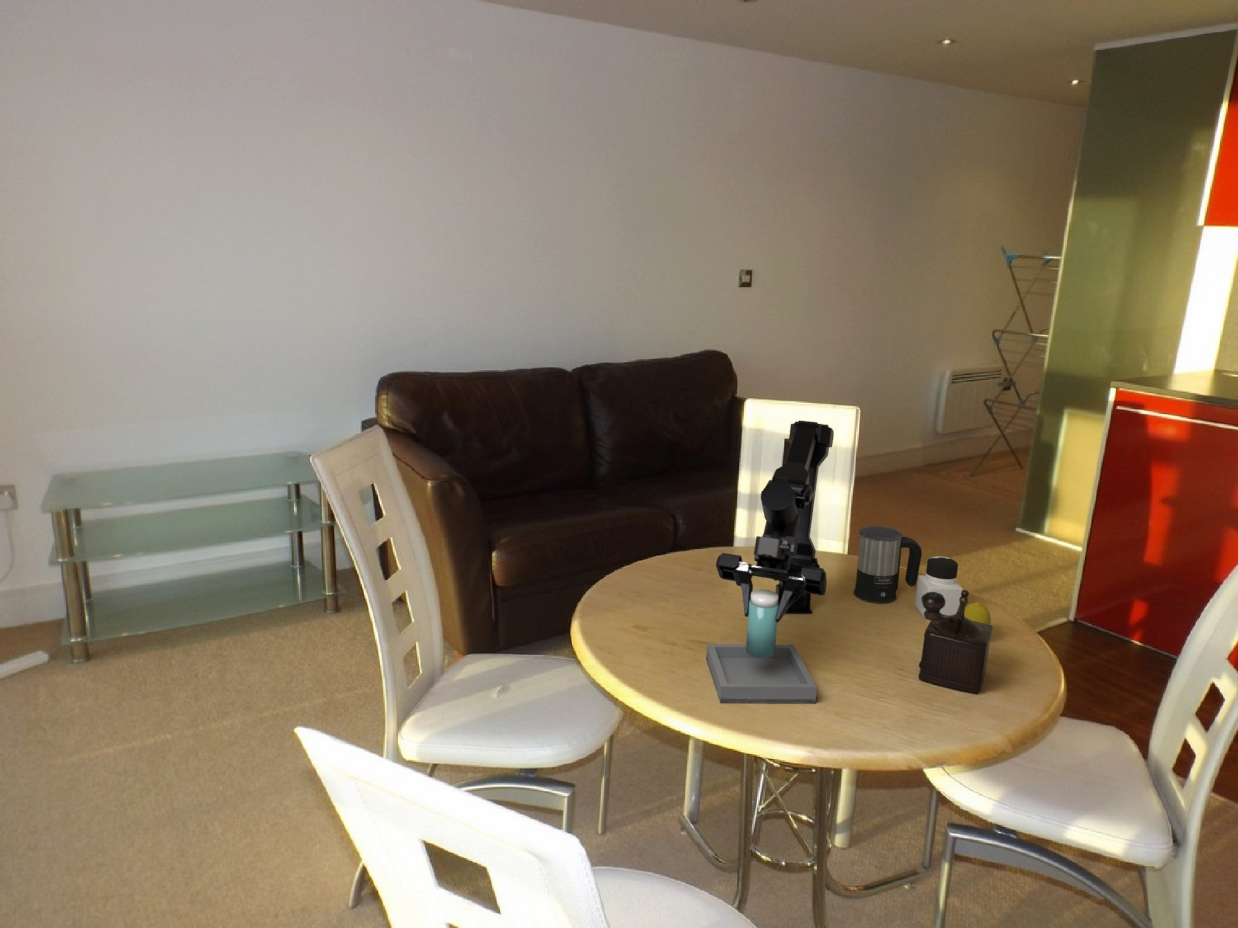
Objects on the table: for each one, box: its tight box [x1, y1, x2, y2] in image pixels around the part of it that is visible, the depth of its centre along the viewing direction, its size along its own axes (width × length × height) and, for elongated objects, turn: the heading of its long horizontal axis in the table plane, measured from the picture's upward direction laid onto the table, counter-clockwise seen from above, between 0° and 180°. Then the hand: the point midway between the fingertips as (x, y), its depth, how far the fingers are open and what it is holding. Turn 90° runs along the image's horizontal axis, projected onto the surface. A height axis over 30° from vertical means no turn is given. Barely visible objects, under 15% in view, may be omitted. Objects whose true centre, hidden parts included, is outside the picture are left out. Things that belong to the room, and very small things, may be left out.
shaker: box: [745, 589, 779, 658], centre depth 152 cm, size 5×5×10 cm
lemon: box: [964, 601, 992, 625], centre depth 173 cm, size 6×6×8 cm
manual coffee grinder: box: [918, 589, 994, 696], centre depth 155 cm, size 16×11×18 cm
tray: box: [705, 643, 818, 705], centre depth 154 cm, size 16×16×3 cm
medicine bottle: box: [914, 556, 964, 620], centre depth 185 cm, size 7×7×12 cm
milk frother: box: [852, 525, 923, 604], centre depth 197 cm, size 14×16×15 cm
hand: (761, 618), depth 151 cm, fingers closed on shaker, 5 cm apart
